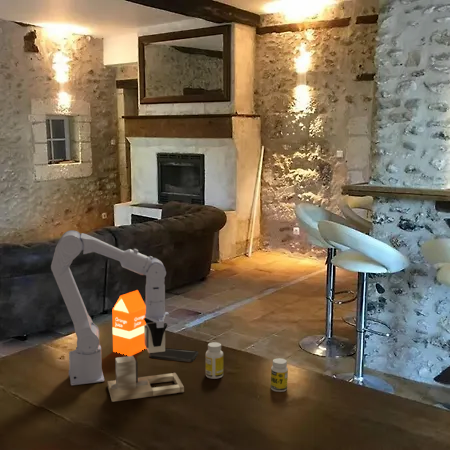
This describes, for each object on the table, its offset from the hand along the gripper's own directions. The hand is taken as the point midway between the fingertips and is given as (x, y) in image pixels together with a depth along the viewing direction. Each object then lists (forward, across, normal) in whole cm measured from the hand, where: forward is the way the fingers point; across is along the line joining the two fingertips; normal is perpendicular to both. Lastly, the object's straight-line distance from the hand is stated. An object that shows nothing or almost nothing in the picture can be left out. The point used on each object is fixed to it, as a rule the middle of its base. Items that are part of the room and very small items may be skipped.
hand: (155, 343), depth 164 cm
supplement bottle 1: (+10, -7, -16) cm, 20 cm away
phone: (+10, +12, -8) cm, 18 cm away
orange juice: (+10, +21, +4) cm, 24 cm away
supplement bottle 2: (+10, -21, -31) cm, 39 cm away
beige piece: (+9, -10, +5) cm, 15 cm away
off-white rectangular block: (+2, 0, 0) cm, 2 cm away
